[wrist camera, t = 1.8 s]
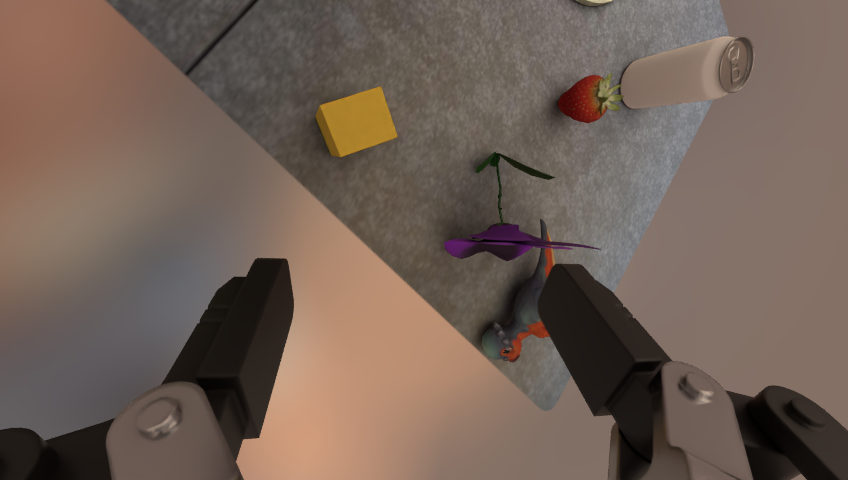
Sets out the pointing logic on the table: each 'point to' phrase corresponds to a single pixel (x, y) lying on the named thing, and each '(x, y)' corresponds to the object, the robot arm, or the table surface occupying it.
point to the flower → (503, 227)
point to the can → (689, 73)
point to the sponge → (355, 122)
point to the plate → (593, 2)
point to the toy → (522, 311)
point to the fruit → (589, 99)
